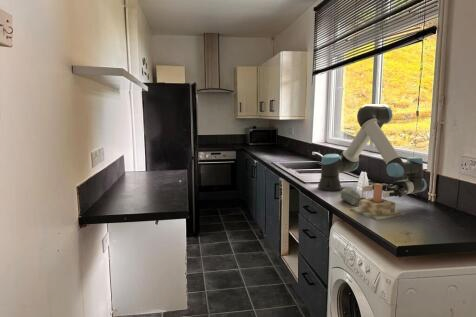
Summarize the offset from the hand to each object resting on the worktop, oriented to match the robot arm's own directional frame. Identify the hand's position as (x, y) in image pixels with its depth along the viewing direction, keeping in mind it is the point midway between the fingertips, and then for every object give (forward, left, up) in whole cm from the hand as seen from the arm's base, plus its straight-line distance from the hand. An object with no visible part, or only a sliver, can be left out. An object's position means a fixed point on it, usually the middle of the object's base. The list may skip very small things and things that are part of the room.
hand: (372, 191), depth 164 cm
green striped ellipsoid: (-20, +4, -12) cm, 24 cm away
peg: (0, +3, -10) cm, 11 cm away
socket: (0, +3, -11) cm, 12 cm away
